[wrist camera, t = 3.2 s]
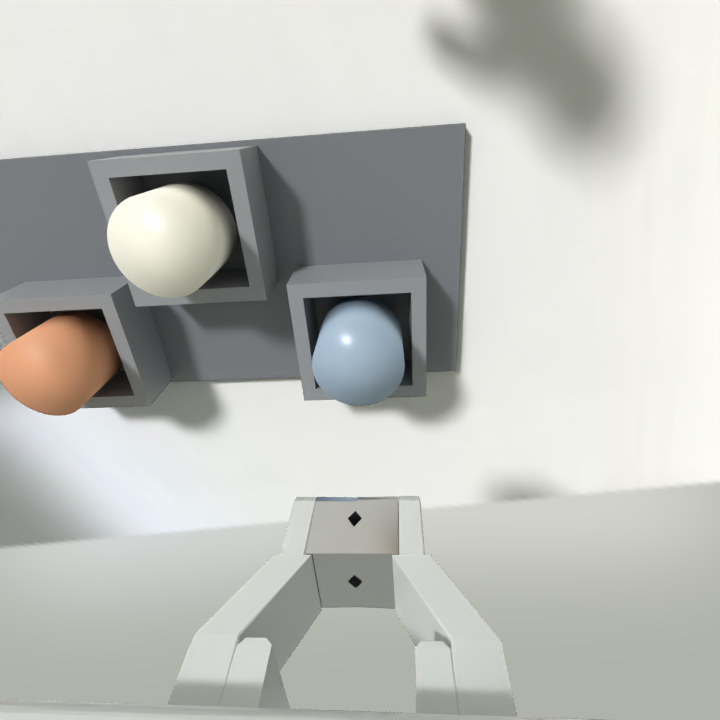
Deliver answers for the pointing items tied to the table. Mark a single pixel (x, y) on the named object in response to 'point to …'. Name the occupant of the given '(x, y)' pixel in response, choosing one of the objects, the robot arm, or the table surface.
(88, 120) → the table surface
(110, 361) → the rust button
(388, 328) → the slate button
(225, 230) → the cream button
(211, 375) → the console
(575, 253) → the table surface
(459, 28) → the table surface
